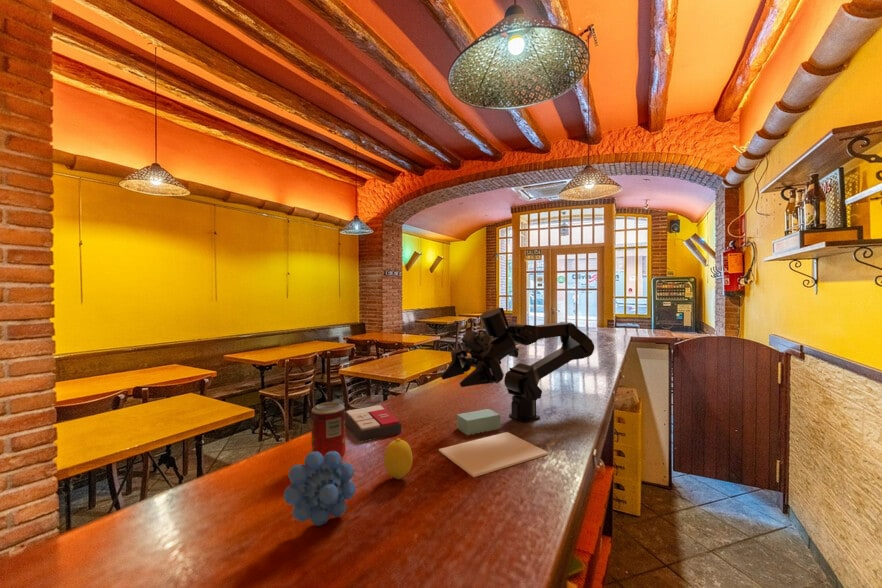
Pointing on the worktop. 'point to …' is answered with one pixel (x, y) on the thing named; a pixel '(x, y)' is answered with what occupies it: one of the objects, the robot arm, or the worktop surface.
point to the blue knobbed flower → (320, 487)
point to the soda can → (328, 428)
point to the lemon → (398, 458)
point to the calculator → (371, 423)
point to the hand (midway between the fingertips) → (450, 381)
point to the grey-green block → (478, 421)
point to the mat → (491, 453)
